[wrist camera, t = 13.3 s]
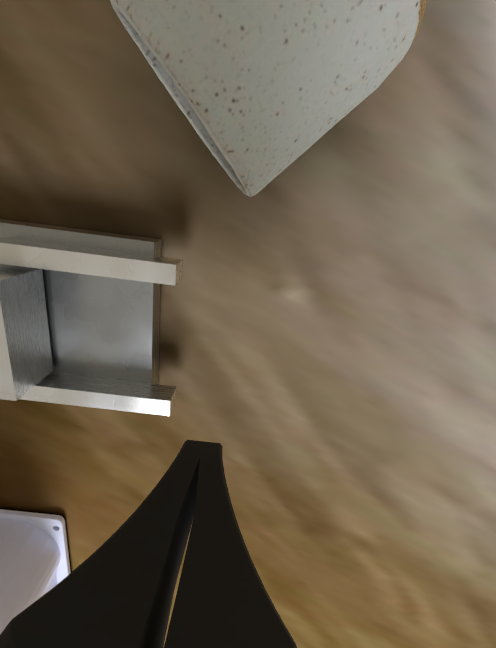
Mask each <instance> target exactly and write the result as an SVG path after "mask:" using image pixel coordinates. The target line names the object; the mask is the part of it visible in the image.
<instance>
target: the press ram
mask: <svg viewBox="0 0 496 648" xmlns="http://www.w3.org/2000/svg"><path fill="white" fill-rule="evenodd" d="M52 371H53V366H52V356H51V347H50V338H49V329H48V319H47V310H46V301H45V292H44V282H43V273H42V269H38V268H30V267H22V266H14V265H6V264H0V399H4V400H13V401H17V400H18V399H19V398H21V397H22V396H23V395H24V394H25V393H27V392H28V391H29V390H30V389H32V388H33V387H34V386H35V385H36V384H38V383H39V382H40V381H41V380H43V379H44V378H45V377H46V376H47V375H49V374H50V373H51V372H52Z"/></svg>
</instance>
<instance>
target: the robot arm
mask: <svg viewBox="0 0 496 648" xmlns="http://www.w3.org/2000/svg"><path fill="white" fill-rule="evenodd" d="M193 517H194V518H193ZM192 521H193V522H192ZM191 525H192V527H191ZM190 528H191V532H190ZM189 532H190V537H189V541H188V546H187V550H186V555H185V560H184V564H183V569H182V573H181V577H180V582H179V586H178V591H177V595H176V599H175V604H174V608H173V612H172V616H171V620H170V625H169V629H168V633H167V637H166V641H165V635H166V630H167V625H168V620H169V614H170V609H171V604H172V599H173V594H174V589H175V585H176V581H177V577H178V573H179V569H180V565H181V562H182V558H183V554H184V551H185V547H186V543H187V540H188V536H189ZM164 641H165V645H164ZM163 646H164V648H297V646H296V644H295V642H294V640H293V638H292V637H291V635H290V633H289V632H288V630H287V628H286V627H285V625H284V623H283V621H282V620H281V618H280V616H279V614H278V612H277V611H276V609H275V607H274V605H273V603H272V601H271V599H270V597H269V595H268V594H267V592H266V590H265V588H264V585H263V583H262V581H261V579H260V577H259V575H258V573H257V571H256V568H255V566H254V564H253V562H252V560H251V557H250V555H249V553H248V550H247V548H246V545H245V543H244V540H243V537H242V535H241V532H240V529H239V526H238V524H237V520H236V517H235V514H234V511H233V508H232V504H231V500H230V497H229V493H228V488H227V484H226V479H225V474H224V468H223V460H222V445H221V444H220V443H211V442H202V441H193V440H187V441H186V442H184V445H183V447H182V448H181V450H180V452H179V454H178V455H177V457H176V458H175V460H174V461H173V463H172V464H171V466H170V467H169V469H168V470H167V472H166V473H165V474H164V476H163V477H162V479H161V480H160V481H159V483H158V484H157V485H156V487H155V488H154V489H153V490H152V492H151V493H150V494H149V495H148V497H147V498H146V499H145V500H144V501H143V503H142V504H141V505H140V506H139V507H138V508H137V510H136V511H135V512H134V513H133V514H132V515H131V516H130V517H129V519H128V520H127V521H126V522H125V523H124V524H123V525H122V526H121V527H120V528H119V529H118V530H117V531H116V532H115V533H114V534H113V535H112V536H111V537H110V538H109V539H108V540H107V541H106V542H105V543H104V544H103V545H102V546H101V547H100V548H99V549H98V550H96V551H95V552H94V553H93V554H92V555H91V556H90V557H89V558H88V559H86V560H85V561H84V562H83V563H82V564H81V565H79V566H78V567H77V568H76V569H75V570H74V571H72V572H70V563H69V554H68V546H67V537H66V528H65V520H64V518H63V517H62V516H60V515H52V514H43V513H33V512H23V511H13V510H3V509H0V648H163Z"/></svg>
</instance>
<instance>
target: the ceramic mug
mask: <svg viewBox="0 0 496 648" xmlns="http://www.w3.org/2000/svg"><path fill="white" fill-rule="evenodd" d="M426 1H427V0H110V2H111V5H112V7H113V9H114V10H115V12H116V14H117V16H118V17H119V19H120V20H121V22H122V23H123V25H124V27H125V28H126V30H127V31H128V33H129V34H130V36H131V37H132V39H133V40H134V41H135V43H136V44H137V46H138V47H139V49H140V50H141V52H142V53H143V55H144V57H145V58H146V60H147V61H148V62H149V64H150V65H151V67H152V68H153V70H154V71H155V73H156V74H157V76H158V78H159V79H160V81H161V82H162V83H163V84H164V86H165V87H166V89H167V90H168V92H169V93H170V95H171V96H172V98H173V99H174V101H175V102H176V104H177V105H178V107H179V108H180V109H181V111H182V112H183V113H184V114H185V116H186V117H187V119H188V120H189V121H190V123H191V124H192V126H193V128H194V129H195V131H196V132H197V134H198V135H199V136H200V138H201V139H202V140H203V142H204V143H205V144H206V146H207V147H208V148H209V150H210V151H211V153H212V155H213V156H214V157H215V158H216V159H217V161H218V162H219V164H220V165H221V166H222V167H223V169H224V170H225V171H226V173H227V174H228V175H229V177H230V178H231V179H232V180H233V182H234V183H235V184H236V186H237V187H238V188H239V189H240V190H241V191H242V192H243V193H244V194H245V195H247V196H249V197H251V196H254V195H256V194H257V193H259V192H260V191H261V190H262V189H263V188H264V187H266V186H267V185H268V184H269V183H270V182H271V181H272V180H273V179H274V178H275V177H276V176H278V175H279V174H280V173H281V172H282V171H283V170H284V169H286V168H287V167H288V166H289V165H290V164H291V163H293V162H294V161H295V160H296V159H297V158H298V157H300V156H301V155H302V154H303V153H304V152H305V151H306V150H308V149H309V148H310V147H311V146H312V145H313V144H314V143H316V142H317V141H318V140H319V139H320V138H321V137H322V136H323V135H324V134H325V133H326V132H327V131H329V130H330V129H331V128H332V127H333V126H334V125H335V124H337V123H338V122H339V121H340V120H341V119H342V118H344V117H345V116H346V115H347V114H348V113H349V112H350V111H352V110H353V109H354V108H355V107H356V106H357V105H359V104H360V103H361V102H362V101H363V100H364V99H366V98H367V97H368V96H369V95H370V94H371V93H372V92H374V91H375V90H376V89H377V88H378V87H379V86H380V85H381V83H382V82H383V81H384V80H385V79H386V77H387V76H388V75H389V74H390V73H391V72H392V70H393V69H394V68H395V67H396V66H397V65H398V64H399V63H400V62H401V61H402V59H403V58H404V56H405V54H406V53H407V51H408V50H409V48H410V47H411V45H412V43H413V41H414V39H415V37H416V35H417V33H418V30H419V27H420V24H421V21H422V18H423V15H424V11H425V6H426Z"/></svg>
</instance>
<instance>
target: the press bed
mask: <svg viewBox="0 0 496 648" xmlns="http://www.w3.org/2000/svg"><path fill="white" fill-rule="evenodd" d="M0 264H6V265H14V266H22V267H30V268H38V269H42V273H43V282H44V292H45V301H46V310H47V319H48V329H49V338H50V347H51V356H52V366H53V371H52V372H51V373H50V374H49V375H47V376H46V377H45V378H44V379H43V380H41V381H40V382H39V383H38V384H36V385H35V386H34V387H33V388H32V389H30V390H29V391H28V392H27V393H25V394H24V395H23V396H22V397H21V398H19V399H22V400H31V401H40V402H49V403H58V404H67V405H76V406H84V407H93V408H102V409H111V410H120V411H129V412H138V413H147V414H156V415H165V416H170V414H171V411H172V409H173V406H174V404H175V401H176V386H167V385H158V372H159V335H160V297H161V284H167V285H176V284H177V283H178V282H179V281H180V280H181V279H182V267H183V260H180V259H172V258H164V257H162V239H155V238H147V237H139V236H132V235H124V234H116V233H108V232H100V231H93V230H85V229H77V228H69V227H62V226H54V225H46V224H38V223H31V222H23V221H15V220H7V219H0Z"/></svg>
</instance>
